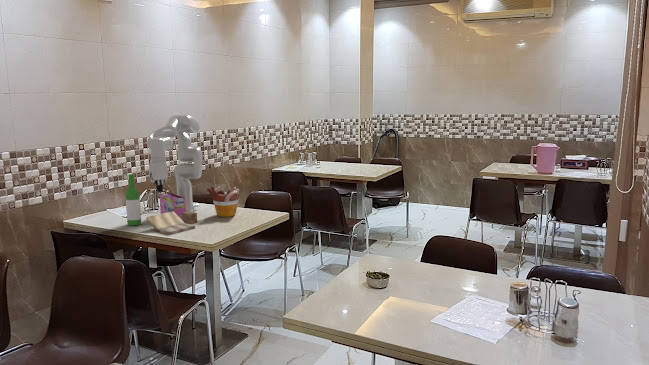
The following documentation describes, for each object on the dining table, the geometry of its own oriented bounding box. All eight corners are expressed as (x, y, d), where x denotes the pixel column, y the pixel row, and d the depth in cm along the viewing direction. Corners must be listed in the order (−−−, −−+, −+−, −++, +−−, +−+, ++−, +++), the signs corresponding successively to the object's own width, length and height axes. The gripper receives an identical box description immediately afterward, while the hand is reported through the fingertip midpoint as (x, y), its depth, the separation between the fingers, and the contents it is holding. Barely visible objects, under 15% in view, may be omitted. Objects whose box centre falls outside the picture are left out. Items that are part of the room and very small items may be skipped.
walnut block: (188, 220, 308) (188, 211, 307) (197, 222, 304) (196, 212, 303) (182, 222, 304) (181, 212, 303) (190, 224, 300) (190, 214, 299)
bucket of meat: (233, 211, 334) (232, 181, 330) (245, 215, 321) (244, 184, 317) (205, 215, 322) (204, 184, 319) (216, 220, 309) (215, 188, 306)
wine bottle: (125, 224, 300) (122, 174, 295) (139, 222, 304) (136, 173, 299) (129, 226, 294) (125, 176, 289) (143, 224, 298) (139, 174, 293)
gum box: (159, 214, 325) (158, 193, 323) (171, 212, 330) (170, 192, 328) (174, 221, 307) (173, 199, 305) (186, 219, 312) (185, 197, 310)
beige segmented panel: (172, 213, 301) (173, 211, 301) (184, 225, 296) (185, 223, 295) (146, 218, 287) (146, 216, 286) (157, 231, 282) (158, 229, 281)
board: (185, 225, 296) (185, 223, 295) (195, 228, 290) (195, 225, 290) (159, 232, 281) (158, 229, 281) (168, 234, 276) (168, 232, 276)
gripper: (165, 158, 296) (166, 189, 299) (142, 160, 284) (144, 192, 287) (173, 159, 292) (174, 190, 294) (150, 161, 280) (152, 194, 283)
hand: (159, 191), depth 291 cm, fingers closed
